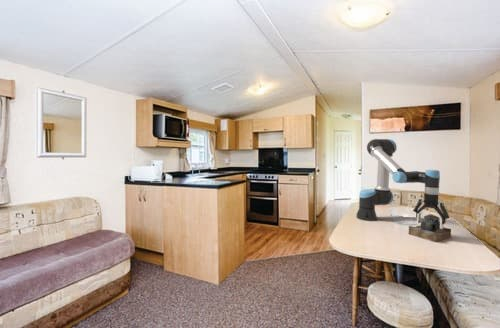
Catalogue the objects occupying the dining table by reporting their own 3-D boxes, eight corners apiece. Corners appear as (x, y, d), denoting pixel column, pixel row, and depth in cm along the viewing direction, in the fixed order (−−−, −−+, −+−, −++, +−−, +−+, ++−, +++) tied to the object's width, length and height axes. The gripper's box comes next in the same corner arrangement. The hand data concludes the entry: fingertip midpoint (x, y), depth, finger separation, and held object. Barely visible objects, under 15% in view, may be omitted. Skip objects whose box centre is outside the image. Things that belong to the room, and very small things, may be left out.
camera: (439, 234, 154) (440, 218, 153) (419, 230, 160) (420, 215, 160) (439, 228, 164) (440, 214, 164) (421, 225, 171) (422, 211, 170)
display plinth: (408, 234, 165) (408, 225, 165) (423, 230, 174) (424, 222, 173) (435, 242, 151) (435, 233, 151) (450, 237, 159) (451, 229, 159)
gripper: (408, 190, 170) (406, 221, 171) (451, 197, 148) (449, 232, 149) (414, 190, 173) (413, 219, 175) (457, 196, 151) (455, 230, 153)
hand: (429, 225), depth 162 cm, fingers open, 13 cm apart
